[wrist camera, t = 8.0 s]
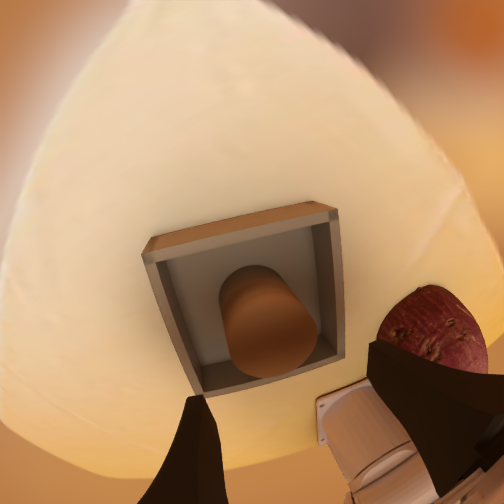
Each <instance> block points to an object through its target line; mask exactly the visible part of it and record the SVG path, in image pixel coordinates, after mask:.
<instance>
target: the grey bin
mask: <svg viewBox="0 0 504 504" xmlns="http://www.w3.org/2000/svg"><path fill="white" fill-rule="evenodd" d="M141 255H142V259H143V262H144V265H145V268H146V271H147V274H148V277H149V280H150V283H151V286H152V289H153V292H154V295H155V298H156V301H157V303H158V306H159V309H160V312H161V314H162V317H163V320H164V322H165V325H166V328H167V330H168V333H169V335H170V338H171V340H172V343H173V345H174V348H175V350H176V352H177V355H178V357H179V359H180V362H181V364H182V366H183V369H184V371H185V373H186V375H187V378H188V380H189V382H190V384H191V386H192V388H193V391H194V393H195V395H201V394H203V396H204V398H210V397H215V396H219V395H224V394H228V393H233V392H237V391H241V390H245V389H249V388H253V387H257V386H261V385H264V384H268V383H271V382H275V381H278V380H282V379H285V378H288V377H291V376H295V375H298V374H301V373H304V372H307V371H310V370H313V369H316V368H319V367H322V366H324V365H327V364H330V363H333V362H335V361H338V360H341V359H343V358H345V306H344V282H343V264H342V250H341V238H340V227H339V217H338V209H337V208H334V207H331V206H328V205H324V204H321V203H318V202H315V201H310V202H305V203H300V204H295V205H290V206H285V207H280V208H275V209H271V210H266V211H261V212H257V213H252V214H248V215H243V216H239V217H234V218H230V219H225V220H221V221H217V222H213V223H208V224H204V225H200V226H196V227H192V228H188V229H183V230H179V231H175V232H171V233H167V234H163V235H160V236H156V237H152V238H151V239H150V240H149V242H148V244H147V245H146V247H145V249H144V250H143V252H142V254H141ZM248 265H263V266H266V267H269V268H271V269H273V270H274V271H276V272H277V273H278V274H279V275H280V276H281V277H282V279H283V280H284V281H285V283H286V284H287V285H288V286H289V288H290V289H291V290H292V292H293V293H294V294H295V296H296V297H297V298H298V299H299V301H300V302H301V303H302V305H303V306H304V307H305V308H306V310H307V311H308V312H309V314H310V315H311V316H312V318H313V319H314V321H315V323H316V326H317V341H316V344H315V347H314V349H313V351H312V353H311V354H310V356H309V357H308V358H307V359H306V360H305V361H304V362H303V363H302V364H301V365H300V366H299V367H297V368H296V369H294V370H292V371H291V372H289V373H286V374H284V375H281V376H277V377H271V378H259V377H254V376H250V375H248V374H246V373H244V372H242V371H241V370H239V369H238V368H237V367H236V366H235V364H234V363H233V361H232V360H231V357H230V354H229V349H228V345H227V340H226V335H225V330H224V325H223V321H222V316H221V311H220V306H219V292H220V288H221V286H222V284H223V282H224V281H225V279H226V278H227V277H228V276H229V275H230V274H231V273H233V272H234V271H236V270H237V269H239V268H242V267H245V266H248Z"/></svg>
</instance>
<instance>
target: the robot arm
mask: <svg viewBox="0 0 504 504" xmlns="http://www.w3.org/2000/svg"><path fill="white" fill-rule="evenodd" d="M366 376H367V378H368V379H366V380H363V381H361V382H359V383H356V384H354V385H352V386H349V387H347V388H344V389H342V390H339V391H337V392H334V393H332V394H329V395H326V396H323V397H321V398H319V399H318V400H317V401H316V410H317V433H318V444H319V446H321V445H325V444H328V446H329V448H330V450H331V452H332V454H333V456H334V458H335V460H336V462H337V464H338V465H339V467H340V469H341V471H342V473H343V475H344V477H345V478H346V479H347V480H348V481H349V483H348V486H349V488H350V490H351V491H350V492H347V494H346V496H345V500H344V504H504V375H497V374H482V373H475V372H468V371H463V370H459V369H455V368H451V367H448V366H444V365H441V364H438V363H436V362H433V361H430V360H428V359H425V358H423V357H420V356H418V355H416V354H413V353H411V352H409V351H407V350H404V349H402V348H400V347H398V346H396V345H394V344H392V343H390V342H387V341H385V340H383V339H378V340H376V341H374V342H371V343H369V352H368V364H367V375H366ZM137 504H229V503H228V499H227V495H226V489H225V481H224V472H223V462H222V452H221V443H220V438H219V433H218V429H217V424H216V421H215V419H214V417H213V415H212V413H211V411H210V409H209V407H208V405H207V403H206V400H205V398H204V396H203V394H201V395H196V396H190V397H188V398H187V399H186V403H185V407H184V410H183V414H182V417H181V420H180V423H179V426H178V429H177V432H176V434H175V437H174V440H173V442H172V445H171V447H170V449H169V452H168V454H167V456H166V458H165V460H164V462H163V464H162V466H161V468H160V470H159V472H158V474H157V475H156V477H155V479H154V480H153V482H152V484H151V485H150V487H149V488H148V490H147V491H146V493H145V494H144V495H143V497H142V498H141V499H140V501H139V502H138V503H137Z"/></svg>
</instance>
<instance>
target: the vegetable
mask: <svg viewBox="0 0 504 504" xmlns="http://www.w3.org/2000/svg"><path fill="white" fill-rule="evenodd" d="M378 339H383V340H385V341H387V342H390V343H392V344H394V345H396V346H398V347H400V348H402V349H404V350H407V351H409V352H411V353H413V354H416V355H418V356H420V357H423V358H425V359H428V360H430V361H433V362H436V363H438V364H441V365H444V366H448V367H451V368H455V369H459V370H463V371H468V372H475V373H482V374H488V355H487V349H486V344H485V340H484V338H483V335H482V332H481V330H480V327H479V325H478V324H477V322H476V321H475V319H474V317H473V316H472V314H471V313H470V312H469V311H468V309H467V308H466V307H465V306H464V305H463V304H462V303H461V301H460V300H459V299H458V298H457V297H455V295H454V294H452V293H451V292H450V291H448V290H446V289H444V288H442V287H439V286H435V285H428V286H425V287H422V288H421V287H418V288H417V290H416V291H414V292H413V293H411V294H410V295H408V296H407V297H405V298H404V299H403V300H402V301H401V302H400V303H398V304H397V305H395V307H394V308H393V309H392V310H391V311H390V313H389V314H388V315H387V317H386V318H385V320H384V322H383V323H382V325H381V327H380V329H379V332H378V336H377V340H378Z"/></svg>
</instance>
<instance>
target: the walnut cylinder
mask: <svg viewBox="0 0 504 504" xmlns="http://www.w3.org/2000/svg"><path fill="white" fill-rule="evenodd" d="M219 306H220V311H221V316H222V321H223V325H224V330H225V335H226V340H227V345H228V349H229V354H230V357H231V360H232V361H233V363H234V364H235V366H236V367H237V368H238V369H239V370H241V371H242V372H244V373H246V374H248V375H250V376H254V377H259V378H271V377H277V376H281V375H284V374H286V373H289V372H291V371H292V370H294V369H296V368H297V367H299V366H300V365H301V364H302V363H303V362H304V361H305V360H306V359H307V358H308V357H309V356H310V354H311V353H312V351H313V349H314V347H315V344H316V341H317V326H316V323H315V321H314V319H313V318H312V316H311V315H310V314H309V312H308V311H307V310H306V308H305V307H304V306H303V305H302V303H301V302H300V301H299V299H298V298H297V297H296V296H295V294H294V293H293V292H292V290H291V289H290V288H289V286H288V285H287V284H286V283H285V281H284V280H283V279H282V277H281V276H280V275H279V274H278V273H277V272H276V271H274V270H273V269H271V268H269V267H266V266H263V265H248V266H245V267H242V268H239V269H237V270H236V271H234V272H233V273H231V274H230V275H229V276H228V277H227V278H226V279H225V281H224V282H223V284H222V286H221V288H220V292H219Z"/></svg>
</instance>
